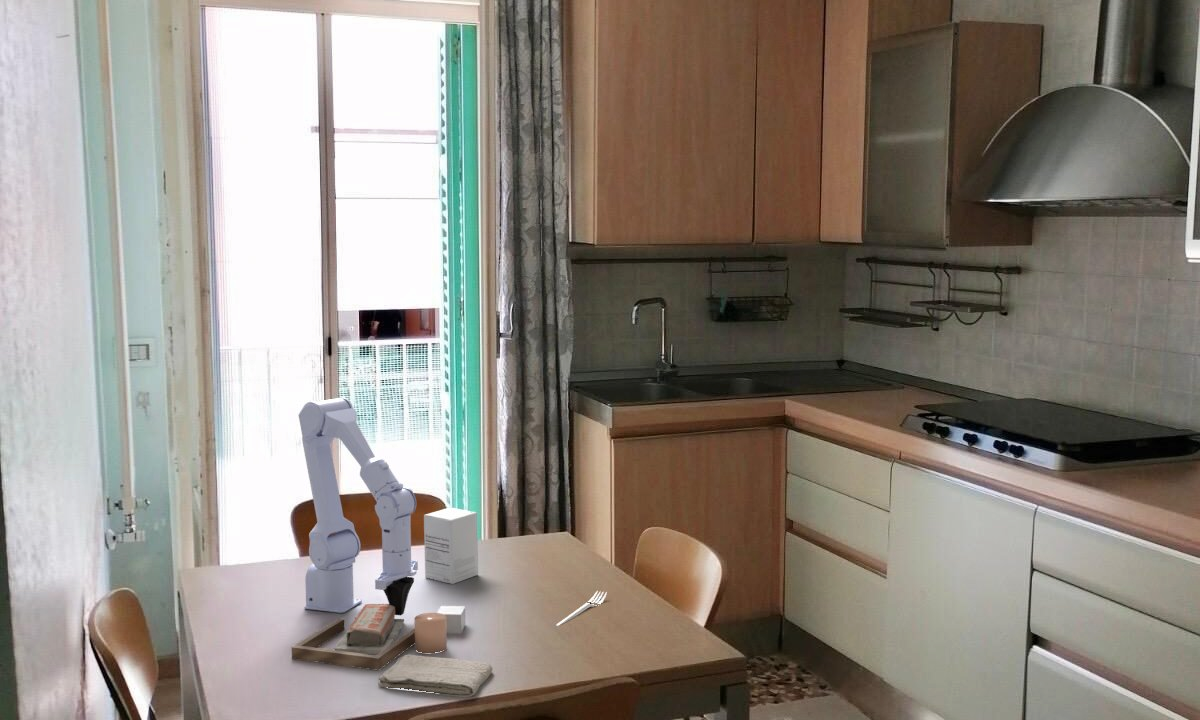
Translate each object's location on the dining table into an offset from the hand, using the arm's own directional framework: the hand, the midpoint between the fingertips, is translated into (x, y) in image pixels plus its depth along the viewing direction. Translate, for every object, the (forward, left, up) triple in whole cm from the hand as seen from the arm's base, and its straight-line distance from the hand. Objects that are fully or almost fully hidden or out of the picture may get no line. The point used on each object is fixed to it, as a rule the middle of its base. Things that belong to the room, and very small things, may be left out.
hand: (397, 614), depth 228 cm
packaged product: (-1, -10, -2) cm, 10 cm away
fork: (+33, +18, -2) cm, 38 cm away
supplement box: (-3, +32, -2) cm, 32 cm away
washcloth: (+21, -25, -2) cm, 33 cm away
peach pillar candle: (+13, -11, -2) cm, 17 cm away
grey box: (+12, 0, -2) cm, 12 cm away
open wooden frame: (0, -15, -2) cm, 15 cm away
